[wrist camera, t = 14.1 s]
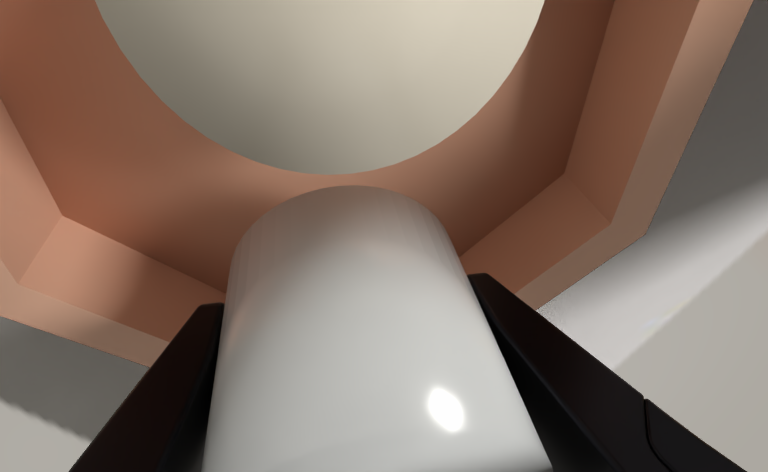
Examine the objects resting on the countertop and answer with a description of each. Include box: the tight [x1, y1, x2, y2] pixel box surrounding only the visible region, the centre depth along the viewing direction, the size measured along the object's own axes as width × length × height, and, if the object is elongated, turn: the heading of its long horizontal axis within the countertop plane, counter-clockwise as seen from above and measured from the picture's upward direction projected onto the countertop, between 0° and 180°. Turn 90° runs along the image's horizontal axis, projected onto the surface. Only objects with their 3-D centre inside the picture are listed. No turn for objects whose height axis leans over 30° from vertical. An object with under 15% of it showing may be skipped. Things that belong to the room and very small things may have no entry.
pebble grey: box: [201, 185, 553, 472], centre depth 7 cm, size 4×4×4 cm
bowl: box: [0, 0, 753, 367], centre depth 9 cm, size 14×14×3 cm
